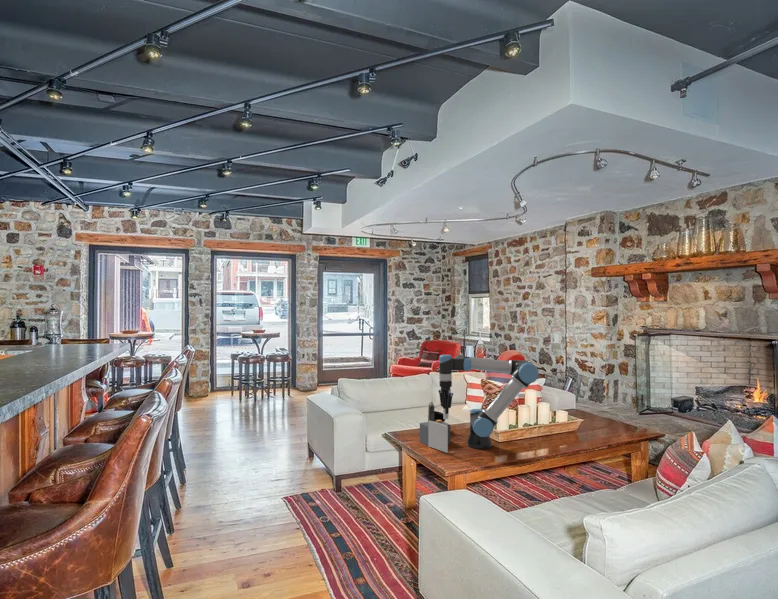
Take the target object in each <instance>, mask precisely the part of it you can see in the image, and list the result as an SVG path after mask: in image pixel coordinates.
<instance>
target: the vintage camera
mask: <svg viewBox="0 0 778 599" xmlns="http://www.w3.org/2000/svg"><path fill="white" fill-rule="evenodd" d="M427 410H428V411H427V412H428V414H427V422H428V421H436V420H442V421H443V422H445V421H446V419H443V412H440V411H437V410H435V404H434V403H433V402H431V401H430V403H428V409H427ZM450 430H452V429H451V427H450Z"/></svg>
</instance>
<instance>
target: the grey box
mask: <svg viewBox="0 0 778 599" xmlns="http://www.w3.org/2000/svg"><path fill="white" fill-rule="evenodd" d="M433 422H436V423H440V424H443V425H446V426H448V445H449V444H451V429H450V428H451V424H450V423H447V422H445V421H444V422H443V421H442V420H436V421H433ZM419 442H420V443H421V444H424V445H425V446H427V447H429V446H428V421H426V422H425V421H424V422H420V423H419Z"/></svg>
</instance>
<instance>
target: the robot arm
mask: <svg viewBox="0 0 778 599" xmlns="http://www.w3.org/2000/svg"><path fill="white" fill-rule="evenodd" d="M438 358H439V360H438V362H439V363H438V366H439V367H438V368H439V370H438V371H439V375H438V376H439V387H440V389H439V390H438V394H439V395H438V396H439V402H440V406H441V407H442V413H443V419H445V420H448V419H449V412H450V410H449V409H451V407H452V403H453V396H454V393H453V392H452V390H451V387H453V385H452V384H453V382H452V379H453V378H452V377H453V376H452V375H453V371H454V372H455V371H458V372H459V371H463V372H464V371H465V372H468V371H471V370H478V371H487V372H494V373H495V372H496V373H504V374H508V376H510V378H511V379H510V380H509V381H508V382H507V384H505V386H504V387H503V388H502V390H500V392H499V393H498V394H497V395H496V397H495V398H494V399H493V400H492V401H491V403H490V404H489V405H488V406H487V408H471V409H470V412H469V417H470V418H469V435H468V438H467V441H466V442H467V443H466V444H467V446H468V447H469V448H472V449H477V450H486V449H490V448H492V441H491V440H492V439H491V438H490V435H491V434H492V433H493V431H494V428H495V426H496V425H497V424H498V421H499V420H498V419H499V417H501V415H502V414H503V413H504V411H505V410H506V409H507V408H508V407H509V406H510V404H511V403H512V402H513V401H514V400H515V398H516V397H517V396H518V395H519V394H520V393H521V392H522V390H523V389H527V388H528V387H529V386H530V385H531V384H532V383H535V382H536V381H537V380H538V377H539V370H538V368H537V366H536V365H535V364H534V363H532V362H530V361H528V360H524V359H521V360H519V359H518V360H517V359H516V360H515V359H509V360H501V359H492V358H485V357H484V358H483V357H475V356H474V357H473V356H465V355H462V354H460V355H456V356H455V357H453V356H452V355H451V354H441V355H439V357H438Z"/></svg>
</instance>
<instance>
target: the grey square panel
mask: <svg viewBox="0 0 778 599" xmlns="http://www.w3.org/2000/svg"><path fill="white" fill-rule="evenodd" d="M427 422H428V446H427V447H429V448H433V449H436V450H438V451H440V452H444V453H446V454H447V453H449V446H448V445H449V444H448V426H446V425H443V424H440V423H436V422H433V421H428V420H427Z"/></svg>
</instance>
